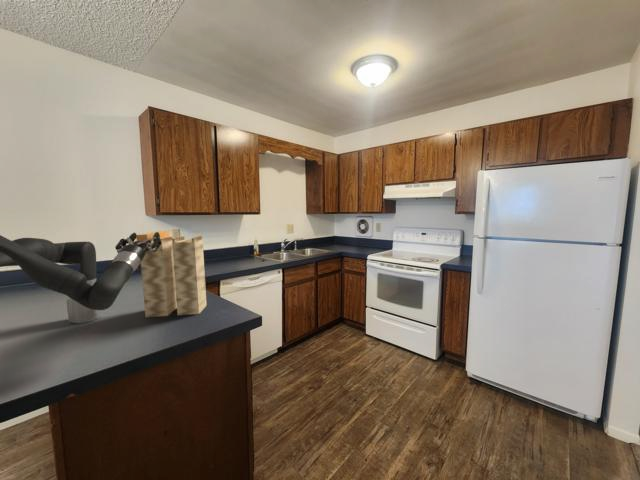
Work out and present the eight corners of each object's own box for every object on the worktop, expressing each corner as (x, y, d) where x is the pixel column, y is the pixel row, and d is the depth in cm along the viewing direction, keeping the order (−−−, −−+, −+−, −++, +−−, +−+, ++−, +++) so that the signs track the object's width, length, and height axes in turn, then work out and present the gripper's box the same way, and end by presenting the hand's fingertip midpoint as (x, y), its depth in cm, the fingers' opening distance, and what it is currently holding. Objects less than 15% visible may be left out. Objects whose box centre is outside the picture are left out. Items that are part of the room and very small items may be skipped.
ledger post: (177, 315, 115) (171, 239, 111) (186, 306, 126) (182, 236, 122) (199, 314, 116) (194, 238, 112) (206, 305, 127) (202, 236, 123)
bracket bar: (137, 245, 104) (136, 235, 104) (161, 239, 124) (160, 231, 123) (147, 244, 104) (147, 234, 104) (170, 239, 124) (169, 231, 124)
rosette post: (145, 317, 113) (138, 239, 110) (157, 307, 124) (152, 237, 121) (167, 315, 114) (161, 239, 111) (178, 306, 125) (172, 236, 122)
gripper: (111, 268, 96) (131, 241, 109) (152, 266, 98) (168, 241, 111) (102, 252, 92) (124, 226, 105) (145, 251, 93) (162, 226, 106)
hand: (146, 234), depth 108 cm, fingers open, 8 cm apart
